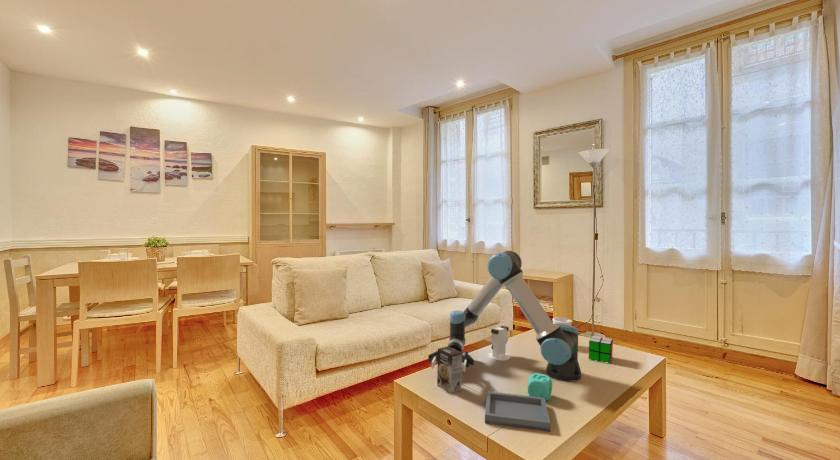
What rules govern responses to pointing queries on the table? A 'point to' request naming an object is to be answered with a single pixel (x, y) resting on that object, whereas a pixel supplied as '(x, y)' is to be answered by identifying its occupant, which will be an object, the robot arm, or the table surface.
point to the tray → (517, 411)
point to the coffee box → (449, 369)
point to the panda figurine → (499, 343)
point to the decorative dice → (540, 386)
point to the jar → (561, 321)
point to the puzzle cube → (600, 349)
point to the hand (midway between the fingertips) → (448, 367)
